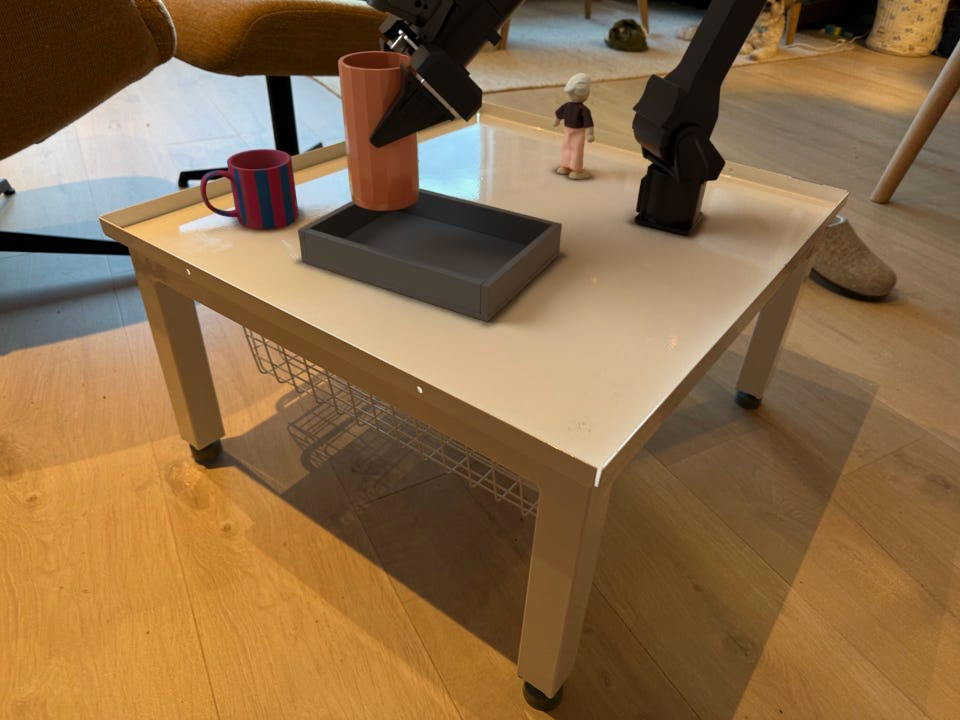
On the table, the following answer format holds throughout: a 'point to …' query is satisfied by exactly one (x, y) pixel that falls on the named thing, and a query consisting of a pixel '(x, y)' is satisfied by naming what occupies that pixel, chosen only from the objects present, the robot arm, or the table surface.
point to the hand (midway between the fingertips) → (366, 132)
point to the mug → (259, 189)
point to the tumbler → (365, 98)
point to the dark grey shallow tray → (436, 250)
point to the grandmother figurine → (575, 126)
